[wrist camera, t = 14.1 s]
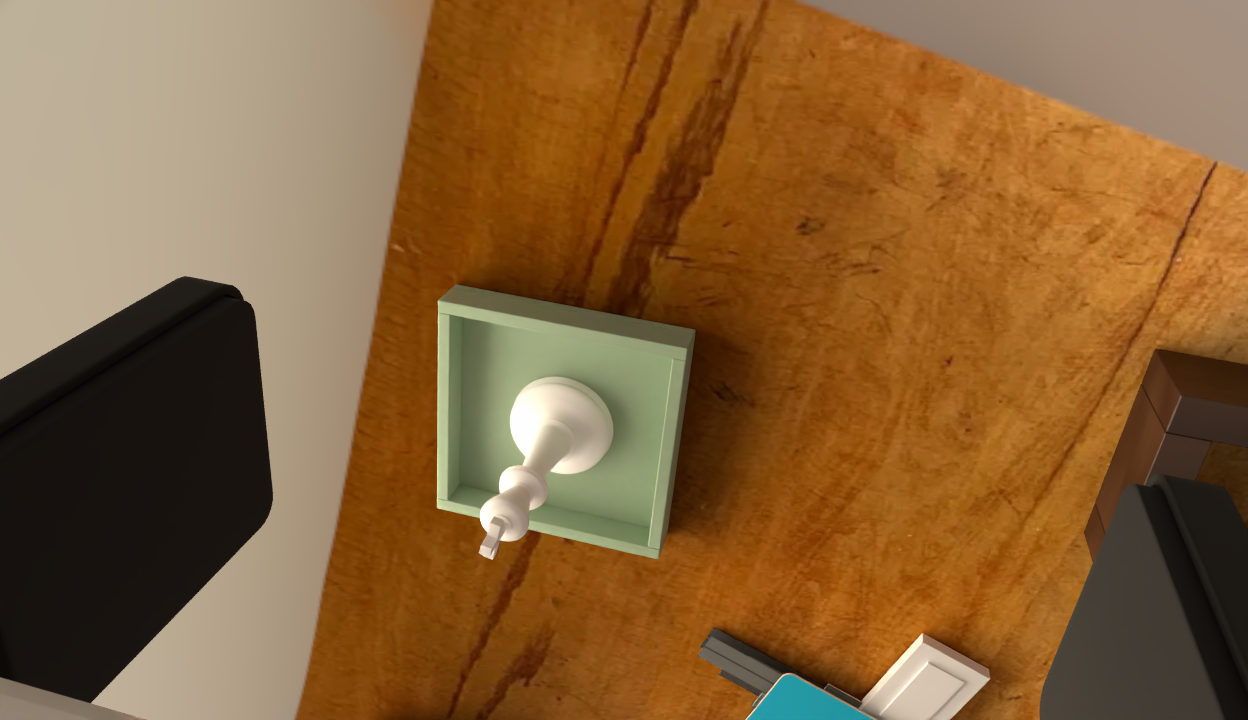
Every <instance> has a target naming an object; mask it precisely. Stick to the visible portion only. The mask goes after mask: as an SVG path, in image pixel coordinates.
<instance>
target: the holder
mask: <svg viewBox="0 0 1248 720" xmlns="http://www.w3.org/2000/svg"><path fill="white" fill-rule="evenodd" d="M1212 441H1215V442H1220V443H1226V444H1231V445H1236V446H1241V447H1246V448H1248V365H1244V364H1239V363H1233V362H1227V361H1222V360H1216V359H1211V358H1205V357H1199V356H1194V355H1188V354H1183V353H1177V352H1171V351H1166V350H1160V349H1155V351H1154V353H1153V356H1152V358H1151V361H1150V363H1149V366H1148V369H1147V371H1146V374H1145V376H1144V379H1143V381H1142V384H1141V386H1140V388H1139V391H1138V394H1137V396H1136V399H1135V401H1134V404H1133V406H1132V409H1131V412H1130V414H1129V417H1128V419H1127V422H1126V425H1125V427H1124V430H1123V432H1122V435H1121V438H1120V440H1119V443H1118V445H1117V448H1116V450H1115V453H1114V456H1113V458H1112V461H1111V463H1110V466H1109V469H1108V471H1107V474H1106V476H1105V479H1104V482H1103V484H1102V487H1101V489H1100V492H1099V495H1098V497H1097V500H1096V504H1095V506H1094V508H1093V511H1092V513H1091V516H1090V518H1089V521H1088V524H1087V526H1086V529H1085V531H1084V534H1085V537H1086V541H1087V544H1088V547H1089V551H1090V554H1091V557H1092V561H1093V563H1094V560H1095V558H1096V555H1097V553H1098V551H1099V548H1100V546H1101V543H1102V541H1103V538H1104V536H1105V533H1106V531H1107V528H1108V526H1109V524H1110V521H1111V519H1112V516H1113V514H1114V511H1115V509H1116V506H1117V504H1118V502H1119V499H1120V497H1121V495H1122V493H1123V491H1124V489H1125V488H1126V487H1127V485H1129V484H1131V483H1135V484H1140V485H1145V484H1146V482H1147V481H1148V480H1149V479H1150V477H1151V476H1152V475H1154V474H1156V473H1160V474H1165V475H1170V476H1175V477H1180V478H1185V479H1190V480H1196V478H1197V475H1198V473H1199V471H1200V469H1201V466H1202V464H1203V462H1204V459H1205V457H1206V455H1207V453H1208V450H1209V448H1210V446H1211V443H1212Z"/></svg>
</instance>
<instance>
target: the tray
mask: <svg viewBox="0 0 1248 720" xmlns="http://www.w3.org/2000/svg"><path fill="white" fill-rule="evenodd" d="M438 312H439V313H438V452H437V508H440V509H444V510H448V511H452V512H457V513H461V514H465V515H470V516H474V517H478V518H480V512H481V509H482V507H483V505H484V504H485V503H486V502H487V501H488V500H489V499H491V498H493V497H494V496H497V495H499V494H501V493H500V489H499V483H500V477H501V475H502V473H503V472H504V471H505V470H506V469H507V468H509V467H511V466H515V465H523V463H524V460H525V458H526V456H525V455H524V454H523V453H522V452H521V451H520V449H519V448H518V446H517V445H516V443H515V441H514V439H513V436H512V433H511V428H510V415H511V411H512V408H513V405H514V403H515V400H516V398H517V396H518V395H519V393H520V392H521V391H522V389H523V388H524V387H526V386H527V385H528V384H530V383H531V382H533V381H535V380H538V379H541V378H545V377H554V376H555V377H565V378H570V379H573V380H576V381H578V382H580V383H582V384H584V385H586V386H588V387H589V388H590V389H592V390H593V391H594V392H595V393H596V394H597V395H598V396H599V397H600V398H601V399H602V400H603V402H604V403H605V404H606V406H607V408H608V410H609V412H610V414H611V417H612V421H613V439H612V443H611V445H610V448H609V449H608V451H607V453H606V454H605V455H604V456H603V457H602V458H601V460H600V461H599V462H598V463H597V464H596V465H594V466H593V467H591V468H590V469H588V470H586V471H583V472H580V473H575V474H559V473H554V472H551V471H550V472H549V473H548V474H547V476H546V477H545V478H544V479H545V481H546V483H547V486H548V496H547V499H546V501H545V502H544V503H543V504H542V505H541V506H539V507H538V508H536V509H533V510H529V526H528V529H530V530H534V531H538V532H543V533H547V534H551V535H556V536H560V537H564V538H568V539H573V540H577V541H581V542H586V543H590V544H594V545H599V546H603V547H607V548H611V549H616V550H620V551H624V552H629V553H633V554H637V555H642V556H646V557H650V558H654V559H659V557H660V554H661V551H662V548H663V545H664V542H665V540H666V537H667V532H668V525H669V518H670V511H671V504H672V496H673V489H674V482H675V475H676V468H677V461H678V454H679V447H680V440H681V433H682V426H683V419H684V411H685V404H686V397H687V390H688V383H689V376H690V369H691V362H692V355H693V348H694V341H695V334H696V330H694V329H689V328H684V327H678V326H673V325H668V324H663V323H657V322H652V321H647V320H642V319H636V318H631V317H626V316H620V315H615V314H610V313H605V312H599V311H594V310H589V309H584V308H578V307H573V306H568V305H562V304H557V303H552V302H547V301H541V300H536V299H531V298H525V297H520V296H515V295H510V294H504V293H499V292H494V291H489V290H483V289H478V288H473V287H467V286H462V285H457V284H456V285H454V286H453V287H452V288H451V289H450V290H449V291H448V292H447V293H446V294H445V295H444V296H442V297H441V298H440V299H439V300H438Z"/></svg>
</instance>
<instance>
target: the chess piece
mask: <svg viewBox="0 0 1248 720" xmlns="http://www.w3.org/2000/svg"><path fill="white" fill-rule="evenodd" d="M510 428H511V433H512V436H513V439H514V441H515V443H516V445H517V446H518V448H519V449H520V451H521V452H522V453H523V454H524V455H525V456H526V458H525V460H524V463H523V465H515V466H511V467H509V468H507V469H506V470H505V471H504V472H503V473H502V475H501V477H500V483H499V489H500V493H501V494H499V495H497V496H494V497H493V498H491V499H489V500H488V501H487V502H486V503H485V504H484V505H483V507H482V509H481V512H480V519H481V523H482V525H483V527H484V529H485V530H486V531H487V532H488V533H487V536H486V538H485V539H484V541H483V542H482V544H481V547H480V552H479V554H482V556H484V557H487V558H490V559H492V560H493V558H494V556H495V555H496V553H497V549H498V545H499V541H500V540H502V541H515V540H518V539H520V538H521V537H523V536H524V535H525V533H526V532H527V529H528V526H529V510H533V509H536V508H538V507H539V506H541V505H542V504H543V503H544V502H545V501H546V499H547V496H548V486H547V483H546V481H545V479H544V478H545V477H546V476H547V474H548V473H549V472H550V471H551V472H554V473H559V474H575V473H580V472H583V471H586V470H588V469H590V468H591V467H593V466H594V465H596V464H597V463H598V462H599V461H600V460H601V458H602V457H603V456H604V455H605V454H606V453H607V451H608V449H609V448H610V445H611V443H612V439H613V421H612V417H611V414H610V412H609V410H608V408H607V406H606V404H605V403H604V402H603V400H602V399H601V398H600V397H599V396H598V395H597V394H596V393H595V392H594V391H593V390H592V389H590V388H589V387H588V386H586V385H584V384H582V383H580V382H578V381H576V380H573V379H570V378H565V377H555V376H554V377H545V378H541V379H538V380H535V381H533V382H531V383H530V384H528V385H527V386H526V387H524V388H523V389H522V391H521V392H520V393H519V395H518V396H517V398H516V400H515V403H514V405H513V408H512V411H511V415H510Z"/></svg>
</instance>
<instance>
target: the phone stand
mask: <svg viewBox="0 0 1248 720" xmlns="http://www.w3.org/2000/svg"><path fill="white" fill-rule="evenodd" d="M708 637H709V638H710V639H708V638H706V640H705V641H704V642H703V644H702V645H701V646H700V647H701V648H703V649H702V650H701V652H700V653H699V654H698V656H699V657H701V658H703V659H705V660H706V661H708V662H710V663H712V664H714V665H715V666H717V667H719V668H721V669H722V670H721V672H720V673H719V675H721V676H723V677H724V678H726V679H728V680H730V681H732V682H734V683H735V684H737V685H739V686H741V687H743V688H744V689H746V690H748V691H750V692H752V693H754V694H755V695H757V696H758V698H757V699H756V700H755V701H754V703H753V704H752V706H753V707H754V709H753V710H752V711H751V713H750V714H749V715H748V716H747V718H746V719H745V720H950V719H951V718H952V717H953V716H954V715H955V714H956V713H957V712H958V711H959V710H960V709H961V708H962V707H963V706H964V705H965V704H966V703H967V702H968V701H969V700H970V699H971V698H972V697H973V696H974V695H975V694H976V693H977V692H978V691H979V690H980V689H981V688H982V687H983V686H984V685H985V684H986V683H987V682H988V681H989V680H990V674H989V669H987V668H986V667H984V666H982V665H980V664H978V663H976V662H975V661H973V660H971V659H969V658H967V657H966V656H964V655H962V654H960V653H958V652H956V651H955V650H953V649H951V648H949V647H947V646H945V645H944V644H942V643H940V642H938V641H936V640H934V639H933V638H931V637H929V636H927V635H925V634H924V633H922V634H921V635H920V636H919V637H918V638H917V639H916V641H915V642H914V643H913V644H912V645H911V646H910V647H909V648H908V649H907V651H906V652H905V653H904V654H903V655H902V656H901V657H900V658H899V659H898V661H897V662H896V663H895V664H894V665H893V666H892V667H891V668H890V669H889V671H888V672H887V673H886V674H885V675H884V676H883V677H882V678H881V679H880V680H879V682H878V683H877V684H876V685H875V686H874V687H873V688H872V689H871V690H870V692H869V693H868V694H867V695H866V696H865V697H864V698H863V699H862V700H861V701H860V700H858V699H856V698H854V697H852V696H851V695H849V694H847V693H845V692H843V691H841V690H840V689H838V688H836V687H834V686H832V685H830V684H828V685H827V686H826V687H824V686H822V685H820V684H818V683H817V682H815V681H813V680H811V679H809V678H807V677H806V676H804V675H802V674H800V673H798V672H796V671H795V670H793V669H791V668H789V667H787V666H786V665H784V664H782V663H780V662H778V661H776V660H775V659H773V658H771V657H769V656H767V655H765V654H764V653H762V652H760V651H758V650H756V649H755V648H753V647H751V646H749V645H747V644H745V643H744V642H743V643H741V642H739V641H738V640H736V639H734V638H732V637H730V636H728V635H727V634H725V633H723V632H721V631H719V630H717V629H716V628H714V629H713V630H712V631H711V633H710V634H709V636H708Z"/></svg>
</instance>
